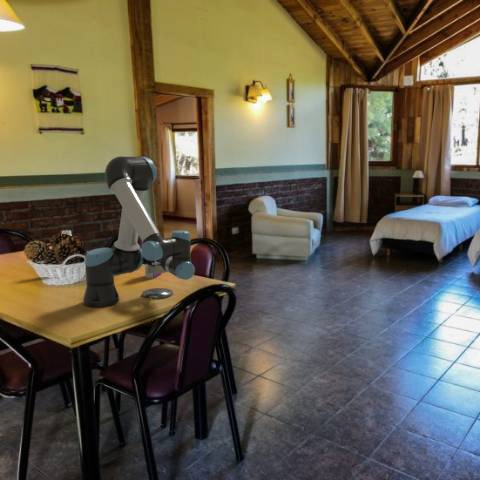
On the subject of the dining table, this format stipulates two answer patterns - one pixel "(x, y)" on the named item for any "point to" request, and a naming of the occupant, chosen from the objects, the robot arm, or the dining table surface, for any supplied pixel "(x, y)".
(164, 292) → the flange plate
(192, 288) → the dining table surface
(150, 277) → the candy bar box
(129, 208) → the robot arm
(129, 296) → the dining table surface
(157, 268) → the can
